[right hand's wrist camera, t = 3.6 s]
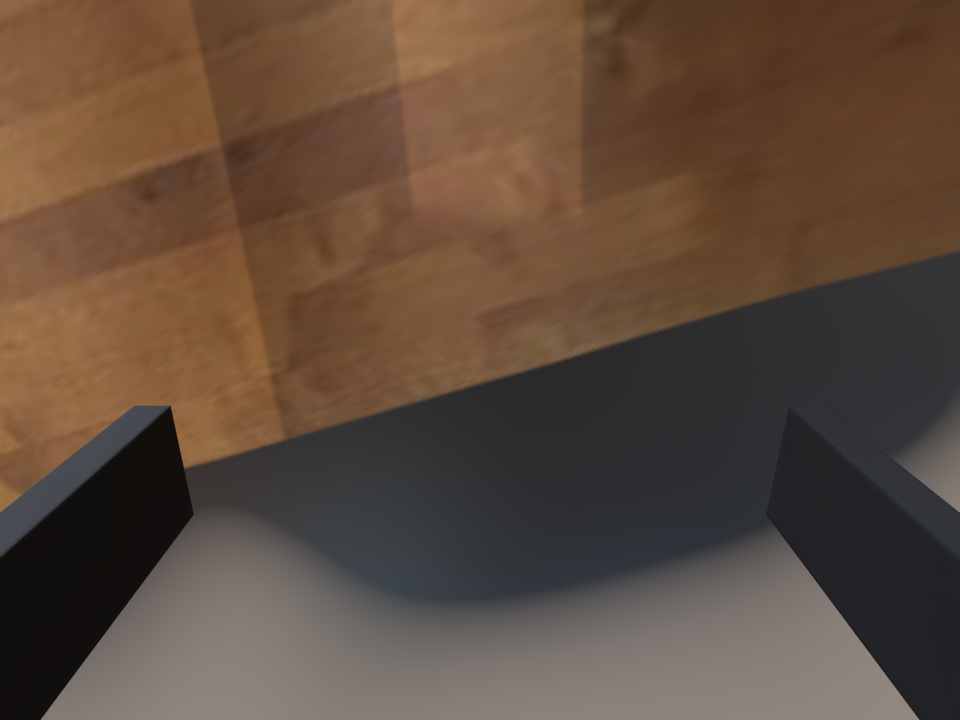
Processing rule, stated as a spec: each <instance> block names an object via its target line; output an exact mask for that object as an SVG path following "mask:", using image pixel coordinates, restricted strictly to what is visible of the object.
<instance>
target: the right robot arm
mask: <svg viewBox="0 0 960 720" xmlns="http://www.w3.org/2000/svg"><path fill="white" fill-rule="evenodd" d="M192 516H193V509H192V504H191V500H190V495H189V490H188V486H187V481H186V476H185V472H184V467H183V462H182V457H181V453H180V448H179V443H178V439H177V434H176V429H175V424H174V420H173V415H172V410H171V406H134V407H133V408H131V409H130V410H129V411H127V412H126V413H125V414H124V415H122V416H121V417H120V418H119V419H117V420H116V421H115V422H114V423H112V424H111V425H110V426H109V427H107V428H106V429H105V430H104V431H102V432H101V433H100V434H99V435H97V436H96V437H95V438H94V439H92V440H91V441H90V442H89V443H87V444H86V445H85V446H84V447H82V448H81V449H80V450H78V451H77V452H76V453H75V454H73V455H72V456H71V457H70V458H68V459H67V460H66V461H65V462H63V463H62V464H61V465H60V466H58V467H57V468H56V469H55V470H53V471H52V472H51V473H50V474H48V475H47V476H46V477H45V478H43V479H42V480H41V481H40V482H38V483H37V484H36V485H34V486H33V487H32V488H31V489H29V490H28V491H27V492H26V493H24V494H23V495H22V496H21V497H19V498H18V499H17V500H16V501H14V502H13V503H12V504H11V505H9V506H8V507H7V508H6V509H4V510H3V511H2V512H1V513H0V720H41V718H42V717H43V716H44V714H45V713H46V712H47V710H48V709H49V708H50V706H51V705H52V704H53V702H54V701H55V700H56V698H57V697H58V696H59V694H60V693H61V692H62V690H63V689H64V688H65V686H66V685H67V684H68V682H69V681H70V680H71V678H72V677H73V676H74V674H75V673H76V672H77V670H78V669H79V668H80V666H81V665H82V663H83V662H84V661H85V659H86V658H87V657H88V655H89V654H90V653H91V651H92V650H93V649H94V647H95V646H96V645H97V643H98V642H99V641H100V639H101V638H102V637H103V635H104V634H105V633H106V631H107V630H108V629H109V627H110V626H111V625H112V623H113V622H114V621H115V619H116V618H117V617H118V615H119V614H120V613H121V611H122V610H123V609H124V607H125V606H126V605H127V603H128V602H129V600H130V599H131V598H132V597H133V595H134V594H135V592H136V591H137V590H138V588H139V587H140V586H141V584H142V583H143V582H144V580H145V579H146V578H147V576H148V575H149V574H150V572H151V571H152V570H153V568H154V567H155V566H156V564H157V563H158V562H159V560H160V559H161V558H162V556H163V555H164V554H165V552H166V551H167V550H168V548H169V547H170V546H171V544H172V543H173V542H174V540H175V539H176V538H177V536H178V535H179V534H180V532H181V531H182V530H183V528H184V527H185V525H186V524H187V523H188V521H189V520H190V519H191V517H192ZM767 516H768V517H769V519H770V520H771V521H772V523H773V524H774V526H775V527H776V528H777V530H778V531H779V532H780V534H781V535H782V536H783V538H784V539H785V540H786V542H787V543H788V544H789V546H790V547H791V548H792V550H793V551H794V552H795V554H796V555H797V556H798V558H799V559H800V560H801V562H802V563H803V564H804V566H805V567H806V568H807V570H808V571H809V572H810V574H811V575H812V576H813V578H814V579H815V580H816V582H817V583H818V584H819V586H820V587H821V588H822V590H823V591H824V592H825V594H826V595H827V597H828V598H829V599H830V600H831V602H832V603H833V605H834V606H835V607H836V609H837V610H838V611H839V613H840V614H841V615H842V617H843V618H844V619H845V621H846V622H847V623H848V625H849V626H850V627H851V628H852V630H853V631H854V633H855V634H856V635H857V637H858V638H859V639H860V641H861V642H862V643H863V645H864V646H865V647H866V649H867V650H868V651H869V653H870V654H871V655H872V657H873V658H874V659H875V661H876V662H877V663H878V665H879V666H880V667H881V669H882V670H883V672H884V673H885V674H886V676H887V677H888V678H889V680H890V681H891V682H892V684H893V685H894V686H895V688H896V689H897V690H898V692H899V693H900V694H901V696H902V697H903V698H904V700H905V701H906V702H907V704H908V705H909V706H910V708H911V709H912V710H913V712H914V713H915V714H916V716H917V717H918V718H919V720H960V513H959V512H958V511H957V510H956V509H954V508H953V507H952V506H951V505H949V504H948V503H947V502H945V501H944V500H943V499H942V498H941V497H939V496H938V495H937V494H936V493H934V492H933V491H932V490H930V489H929V488H928V487H927V486H926V485H924V484H923V483H922V482H920V481H919V480H918V479H917V478H915V477H914V476H913V475H912V474H910V473H909V472H908V471H907V470H905V469H904V468H903V467H902V466H900V465H899V464H898V463H897V462H895V461H894V460H893V459H892V458H890V457H889V456H888V455H887V454H885V453H884V452H883V451H882V450H880V449H879V448H878V447H876V446H875V445H874V444H873V443H871V442H870V441H869V440H868V439H866V438H865V437H864V436H863V435H861V434H860V433H859V432H858V431H856V430H855V429H854V428H853V427H851V426H850V425H849V424H848V423H846V422H845V421H844V420H843V419H841V418H840V417H839V416H838V415H836V414H835V413H834V412H832V411H831V410H830V409H829V408H827V407H826V406H789V410H788V415H787V420H786V424H785V429H784V434H783V439H782V443H781V448H780V453H779V458H778V462H777V467H776V472H775V476H774V481H773V486H772V491H771V495H770V500H769V505H768V509H767Z"/></svg>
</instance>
